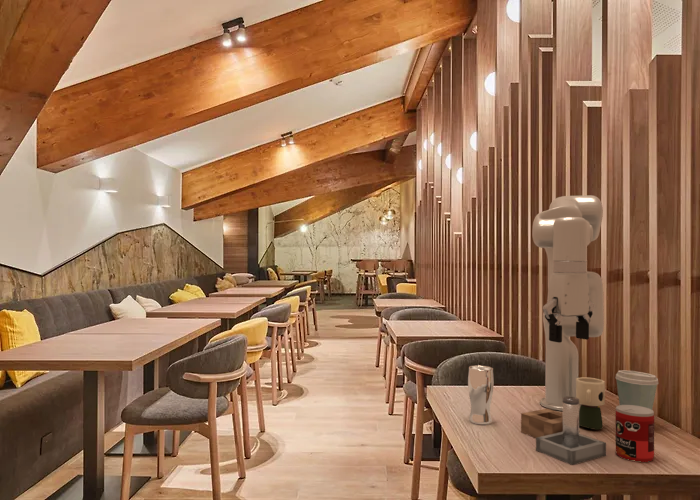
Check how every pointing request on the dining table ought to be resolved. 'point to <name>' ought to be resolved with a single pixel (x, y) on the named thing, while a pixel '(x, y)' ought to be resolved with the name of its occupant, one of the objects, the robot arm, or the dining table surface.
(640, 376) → the disposable coffee cup
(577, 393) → the character mug
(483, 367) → the beer glass
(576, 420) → the pin
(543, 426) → the block
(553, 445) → the tray
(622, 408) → the canned food
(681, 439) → the dining table surface
